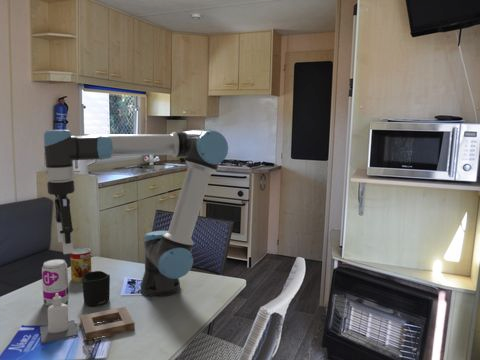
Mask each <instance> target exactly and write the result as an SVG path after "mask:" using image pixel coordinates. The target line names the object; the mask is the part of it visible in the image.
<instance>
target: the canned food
mask: <svg viewBox="0 0 480 360" xmlns="http://www.w3.org/2000/svg"><path fill="white" fill-rule="evenodd" d="M69 255H70V278H71V281H72V282H74V283H82V276H83V275H84V274H86V273H89V272H92V250H91V249H90V248H89V247H78V248H73V253H69Z"/></svg>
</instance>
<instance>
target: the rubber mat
mask: <svg viewBox="0 0 480 360" xmlns="http://www.w3.org/2000/svg"><path fill="white" fill-rule="evenodd" d="M39 333H40V334H41V335H40V334H39V335H40V344H42V345H43V344H46V343H51V342H55V341H61V340H65V339H69V338H70V337H71V338H74V337H73V336H75V337H78V336H79V334H78V329H77V326H76V323H75V320H74V319H73V320H71V319H70V320H68V330H66V331H63V332H59V333H49V331H48V324H47V325H42V326H39Z"/></svg>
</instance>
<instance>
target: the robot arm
mask: <svg viewBox="0 0 480 360" xmlns="http://www.w3.org/2000/svg"><path fill="white" fill-rule="evenodd" d="M43 133H44V134H43V141H44V142H43V144H44V145H43V147H44V156H45V160H44V161H45V167H46V168H45V170H44V174H46V181H47V180H48V181H47V193H48V194H49V195H52V196H54V197H55V198H54V201H53V202H54V207H55V221H56V232H57V233H56V234H57V242H58V243H59V244H60V243H62V250H63V251H62V253H63V255H70V253H73V249H74V243H73V242H74V241H73V240H74V239H73V230H74V229H73V221H72V215H71V204H70V203H71V201H70V198H69V197H68V194H69V195H70V194H73V193H75V181H74V180H73V179H74V178H75V175H74V165H73V162H74V161H86V160H87V161H88V160H89V161H90V160H93V161H94V160H101V161H102V160H107V159H112V157H113V156H114V157H117V156H118V157H121V156H122V157H123V156H164V155H165V156H168V155H169V156H172V157H173V158H186V159H185V163H186V166H187V167H188V168H187V170H186V174H185V177H184V180H183V182H182V185H181V189H180V192H179V196H178V198H177V202H176V205H175V209H174V212H173V213H172V214H173V215H172V218H171V221H170V223H169V227H168V230H155V231H150V232H147V233H146V234H145V235H144V240H143V243H144V272H143V273H144V274H143V277H142V279H141V282H140V292H141V294H143V295H145V296H148V297H153V298H155V297H156V298H157V297H158V298H159V297H160V298H162V297H167V296H171V295H174V294H176V293H177V292H179V291H180V288H181V283H180V278H182V277H184V276H186V275H187V274H188V273H189V272H190V271H191V269H192V267H193V264H194V257H193V254H192V251H193V247H194V243H195V242H194V241H193V239H192V236H193V233H194V229H195V226H196V223H197V220H198V218H199V214H200V210H201V208H202V204H203V201H204V198H205V195H206V192H207V189H208V186H209V182H210V179H211V175H212V174H214V173H216V172H217V171H218V167H219V164H220V163H222V162H224V160H225V159H226V157H227V156H228V153H229V145H228V141H227V139H226V137H225V135H224V134H222V133H221V132H219V131H217V130H213V129H192V130H191V129H190V130H183V131H172V132H171V133H170V134H89V133H82V134H80V135H72V133H71V130H69V129H48V130H46V131H45V132H43Z"/></svg>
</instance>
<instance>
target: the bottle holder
mask: <svg viewBox="0 0 480 360" xmlns="http://www.w3.org/2000/svg"><path fill="white" fill-rule="evenodd" d="M117 320H118V321H117ZM103 321H108V322H109V323H105V324H101V325H95V324H94V323H97V322H103ZM112 321H114V322H112ZM103 323H104V322H103ZM135 324H136V323H135V321H134V319H133V318H132V316H131V313H130V312H129V309H127V307H126V306H123V307H117V308H112V309H111V308H110V309H109V310H108V309H107V310H102V311H96V312H92V313H86V314H81V315H80V326H81V325H82V326H81V328H83V329H82V331H83V335H85V336H84V339H85V338H86V339H85V341H86V342H87V340H88V341H91V340H90V339H93V340H95V339H94V338H97V337H102V336H106V337H109V336H114V335H118V334H123V333H128V332H132V331H135V330H136V329H135V328H136V327H135V326H136V325H135ZM102 338H103V337H102ZM97 339H98V338H97Z"/></svg>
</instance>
